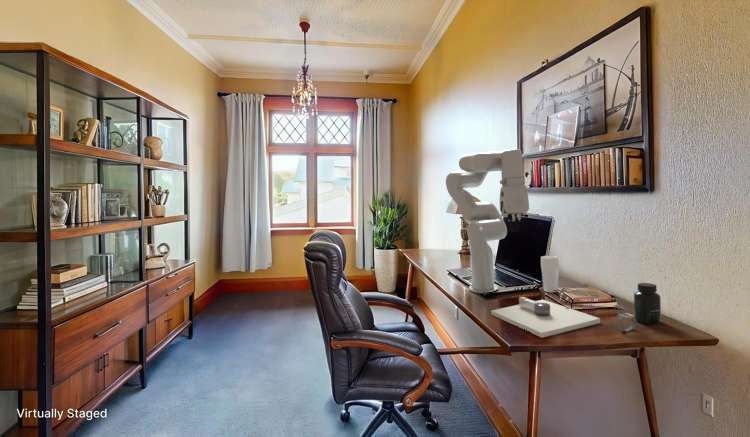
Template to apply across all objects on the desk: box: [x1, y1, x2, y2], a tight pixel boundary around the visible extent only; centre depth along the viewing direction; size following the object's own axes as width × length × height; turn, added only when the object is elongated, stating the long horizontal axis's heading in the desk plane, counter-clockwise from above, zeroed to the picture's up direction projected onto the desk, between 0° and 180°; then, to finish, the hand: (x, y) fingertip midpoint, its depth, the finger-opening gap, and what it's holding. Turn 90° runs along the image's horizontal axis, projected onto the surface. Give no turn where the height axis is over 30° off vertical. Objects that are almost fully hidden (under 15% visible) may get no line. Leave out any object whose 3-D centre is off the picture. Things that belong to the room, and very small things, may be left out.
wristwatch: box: [616, 312, 637, 333], centre depth 109 cm, size 6×3×5 cm, turn 105°
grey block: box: [518, 296, 550, 316], centre depth 127 cm, size 12×5×3 cm, turn 20°
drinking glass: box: [540, 255, 560, 292], centre depth 152 cm, size 7×7×15 cm
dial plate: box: [490, 299, 601, 339], centre depth 124 cm, size 24×24×2 cm
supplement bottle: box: [633, 282, 662, 326], centre depth 114 cm, size 7×7×12 cm
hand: (514, 231), depth 136 cm, fingers closed
